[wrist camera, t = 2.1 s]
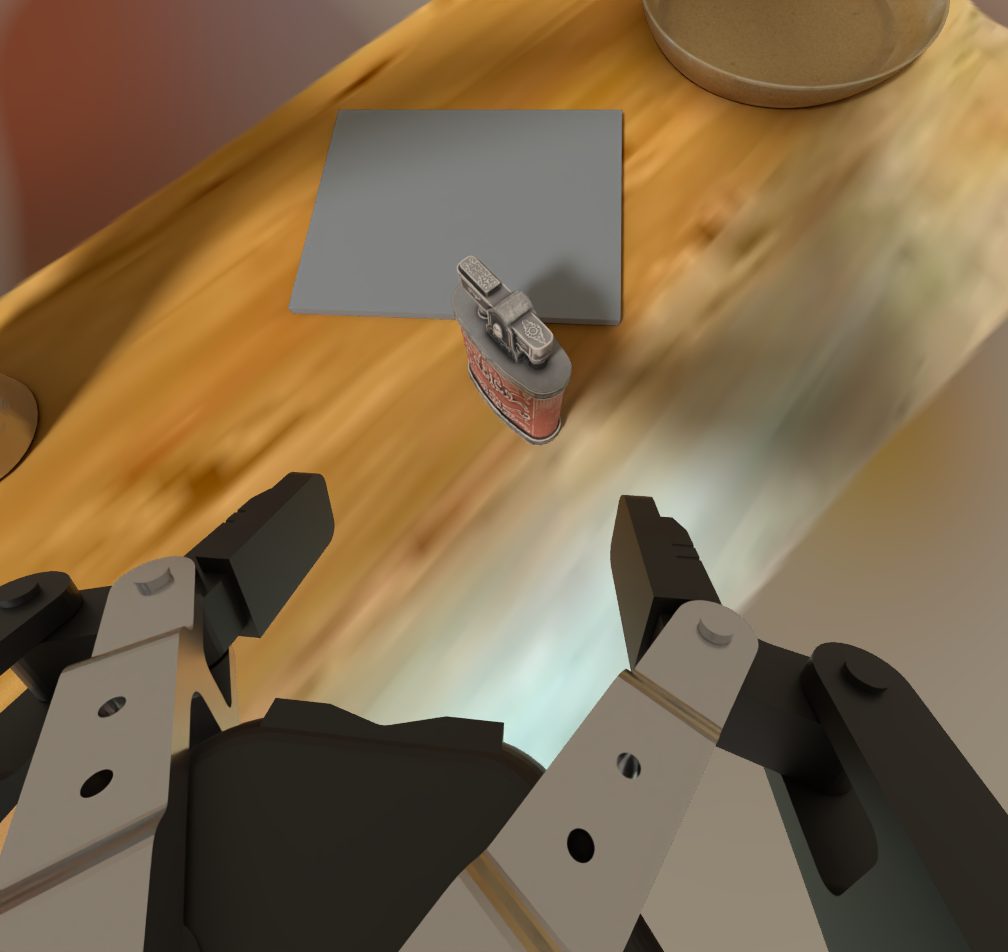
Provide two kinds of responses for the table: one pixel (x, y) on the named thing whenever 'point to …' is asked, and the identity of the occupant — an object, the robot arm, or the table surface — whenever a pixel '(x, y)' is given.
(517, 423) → the lighter
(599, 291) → the mat
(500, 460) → the table surface
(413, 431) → the table surface
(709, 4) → the plant saucer
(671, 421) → the table surface
